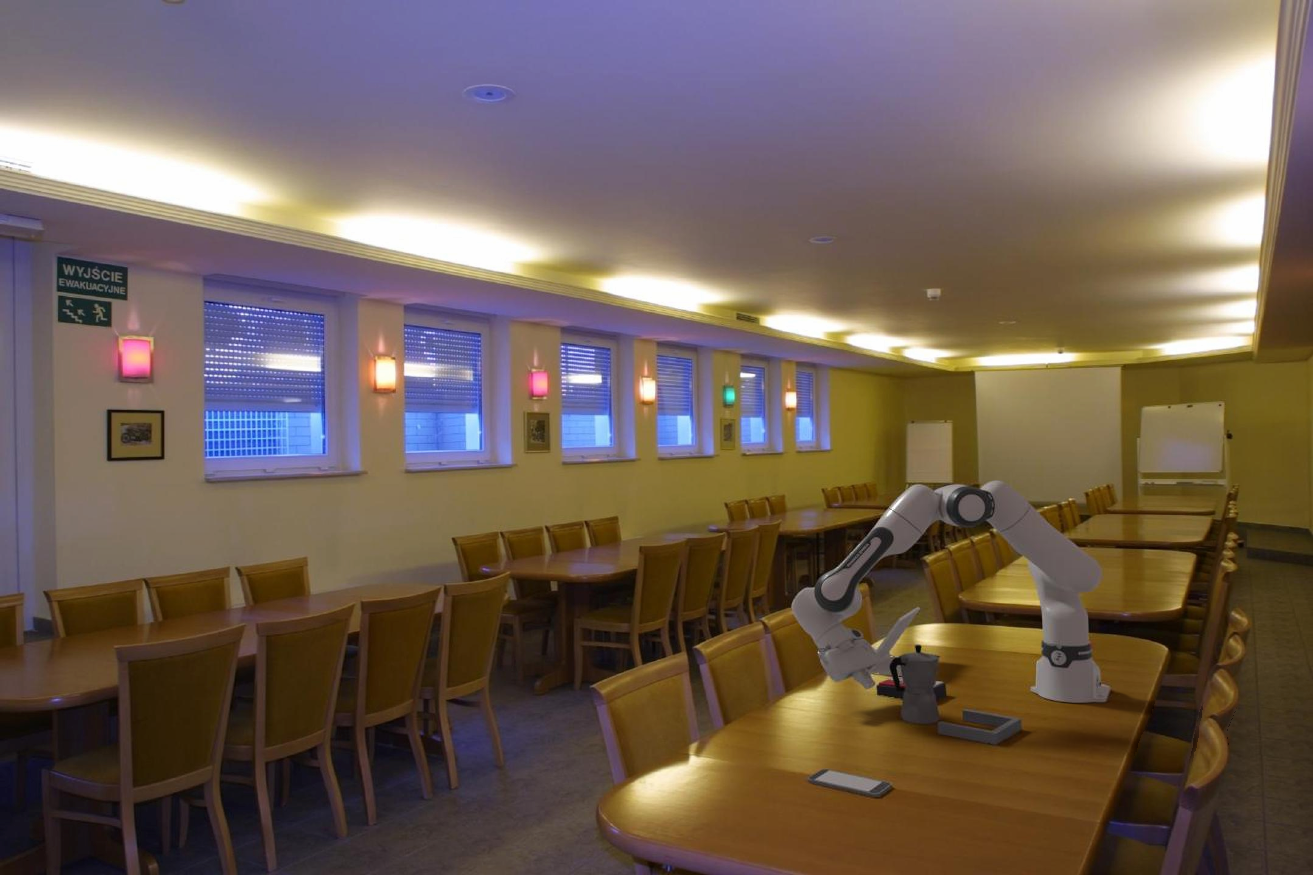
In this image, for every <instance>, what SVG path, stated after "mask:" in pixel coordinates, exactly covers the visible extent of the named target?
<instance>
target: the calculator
mask: <svg viewBox="0 0 1313 875" xmlns="http://www.w3.org/2000/svg"><path fill="white" fill-rule="evenodd" d="M898 678H899V680H900V687H904V688H905V684H904V683H903V678H902V677H898ZM875 686H876V695H877V696H880V695H883V696H882V697H886V696H887V698H891V697H894V698H893V699H897V698H901V699H900V700H903V695H904V692H905V691H906V690H905V689H904V691H902V692H898V691H897V690H896V687H895V684H894V681H893V677H891V678H888V679H885V680H883V681H881V682H880V681H879V682H878V684H875ZM933 688H934V693H935V696H936V700H937V701H938V700H941V699H943V698H946V697H947V685H946V682H944V681H937V680H936V684H935V685H934V686H933ZM940 698H941V699H940Z"/></svg>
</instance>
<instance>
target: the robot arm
mask: <svg viewBox="0 0 1313 875" xmlns="http://www.w3.org/2000/svg"><path fill="white" fill-rule="evenodd" d="M937 521H939V522H942V523H944V524H948V525H951V526H952V527H953V526H954V527H961V528H973V527H976V526H979V525H980V524H981V523H983V522H985V521H986V522H988V523H989V524H990V525H991V527H993V528H994V529H995V531H997V533H998V534H999V535H1000V536H1001V537H1002V538H1003V539H1004V540H1005V541H1006V542H1007V543H1008V544H1009V545H1010V546H1011V548H1013V549H1014V550H1015V552H1017V553H1018V554H1019V555H1021V556H1023V557H1024V558H1025V559H1027V560H1028V561H1027V562H1028V563H1027V567H1028V570H1029V573H1030V575H1031V576H1032V577H1031V578H1032V579H1033V580H1034V584H1035V588H1036V592H1037V596H1038V600H1039V604H1040V608H1041V609H1040V610H1041V618H1042V641H1041V644H1040V649H1041V655H1042V656H1041V657H1040V659H1038V660H1037V661H1036V670H1035V673H1036V675H1035V685H1033V686H1030V692H1032V693H1035V694H1038V696H1040V697H1042V698H1043V699H1047V700H1051V701H1056V702H1063V703H1064V702H1065V703H1077V704H1079V703H1084V704H1085V703H1106V702H1107V701H1108V699H1109V696H1110V692H1111V686H1109V685H1106V684H1103V683H1102V681H1101V680H1102V676H1101V668H1100V667H1099V666H1098V665H1097V663H1096V662H1095V661H1094V660H1093V648H1094V646H1093V645H1094V644H1093V642H1092V641H1089V636H1090V635H1089V614H1088V611H1087V609H1086V608H1085V606H1084V605H1083V602H1082V600H1081V596H1080V594H1082V593H1089V592H1092V591H1093V590H1095V589H1096V588H1097V587H1098V586H1099V585H1100V583H1101V581H1102V577H1103V571H1102V567H1101V564H1100V563H1099V561H1097V560H1096V559H1095V558H1094V557H1092V556H1091V555H1089V554H1087V553H1086V552H1085V551H1084V550H1083V549H1081V548H1080V547H1079V546H1078V545H1076V543H1074V542H1073V541H1072V540H1071V539H1070V538H1068V537H1067V536H1066V535H1064V534H1063V533H1062V532H1060V531H1059V530H1057V528H1055V527H1054V526H1053V525H1051V523H1049V522H1048V521H1047V520H1046V519H1045V518H1044V517H1043V516H1042V514H1040V513H1039V511H1038V510H1037V509H1035V507H1034V506H1033V505H1032V504H1030V502H1028V500H1027V499H1026V498H1025V497H1023V495H1021V494H1020V493H1019V492H1018V491H1016V489H1014V488H1012V487H1011V486H1010V485H1009V484H1007V483H1005V482H1004V481H1001V480H992V481H988V482H986V483H984V485H982V486H981V487H980V488H978V487H976V486H969V485H965V484H962V483H961V484H960V483H957V484H956V483H955V484H953V483H951V484H950V483H949V484H948V483H947V484H944V485H940V486H938V487H935V488H933V489H932V488H930V487H929V486H927V485H925V484H919V483H918V484H914V485H911V486H910V487H909V488H907V489H906V490H905V491H904V492H903V493H901V494H900V495H899V496H898V497H897V498H896V499H895V500H894V501H893V502H892V503H891V504H890V505H889V507H888V508H887V509H886V510H885V512H884V513H883V514H882V515H881V516H880V519H879V520H878V521H877V522H876V524H874V527H872V529H871V530H870V531H869V533H868V534H867V535H866V536H865V537H864V538H863V540H861V542H859V544H858V545H856V546H855V548H854V549H853V550H852V551H851V552H850V553H849V555H847V557H846V558H845V559H844V560H843V561H842V562H841V563H840V564H839V565H838V566H837V567H835V568H834V569H832V570H829V571H828V572H825V573H824V574H822V575H821V576H820V577H819V578H818V579H817V581H816V582H815V585H814V587H805V588H803V589H802V590H800V591H799V592H798V593H797V594H796V595H795V597H794V598H793V599H792V601H791V602H792V603H791V612H792V614H793V616H794V618H795V619H796V621H797V622H798V624H799V625H800V626H801V627H802V629H803V630H804V632H806V633H807V634H808V635H810V637H811V638H812V640H813V642H814V644H815V645H816V647H817V648H818V649H817V656H818V658H819V659H820V664H821V666H822V667H823V669H824V670H825V672H826V673H827V675H828V676H829V678H830V679H831V680H832V681H833V682H835V683H840V682H841V681H842V682H843V681H845V680H847V679H850V678H852V679H853V680H854V682H855V681H856V682H857V683H859V684H860V685H861V686H862V687H863V688H864V689H865V690H868V689H871V688H873V687H874V686H876V681H875V680H874V678H872V674H870V671H869V670H872V669H874V668H875V667H876V666H877V665H878V664H879V663H880V657H879V656H878V654H877V653H876V651H875V650H874V649H873V648H872V647H873V646H872V645H871V644H870V643H869V642H868V641H867V640H866V639H864V634H863V633H862V631H860V630H859V629H858V630H857V629H853V628H849V627H845V626H844V625H843V623H842V622H843V621H844V620H848V618H850V617H852V616H854V615H855V614H857V613H858V612H859V611H860V609H861V608H862V606H863V599H864V598H863V594H862V592H861V590H860V588H859V587H858V585H859V583H860V582H861V581H862V580H863V578H864V577H865V576H866V575H867V574H868V573H869V572H870V571H871V569H872V568H874V566H875V565H876V564H877V563H878V562H879V561H880V560H882V559H883V558H885V557H888V556H892V555H900V554H903V553H906V552H907V551H909V549H910V548H912V546H914V545H915V544H916V543H917V542H918V540H919V539H920V538H921V537H922V536H923V535H924V534H925V532H926V530H927V529H928V528H929V527H930V526H931V525H932V524H934V523H935V522H937Z"/></svg>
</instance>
